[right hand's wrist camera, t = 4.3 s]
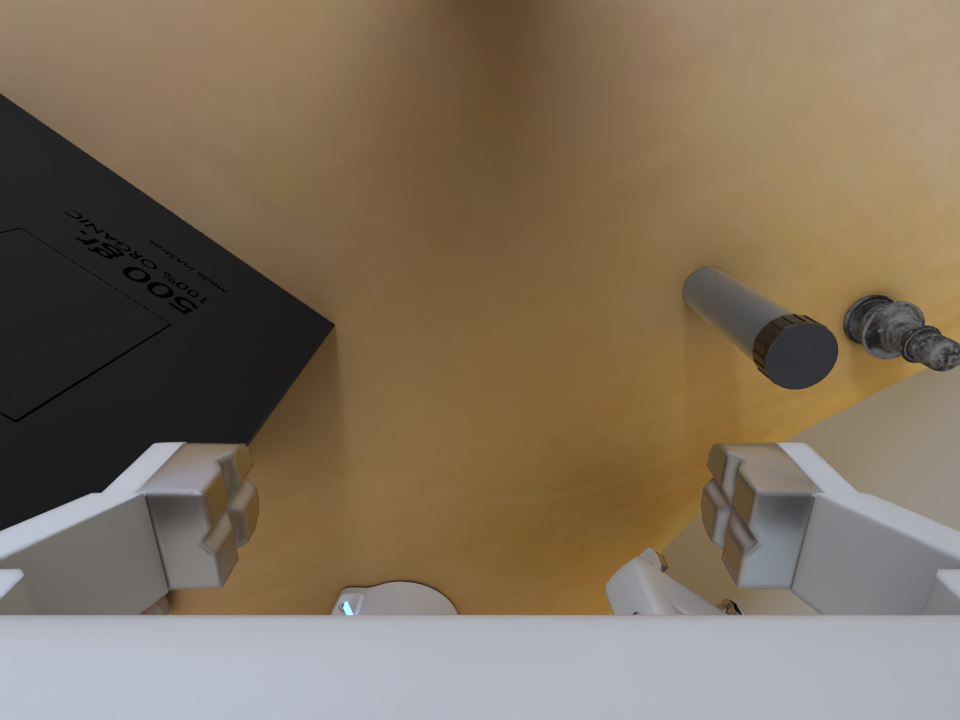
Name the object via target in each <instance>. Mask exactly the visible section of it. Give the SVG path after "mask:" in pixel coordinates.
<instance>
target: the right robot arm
mask: <svg viewBox="0 0 960 720" xmlns="http://www.w3.org/2000/svg"><path fill="white" fill-rule="evenodd" d="M252 467H253V463H252V458H251V453H250V449H249V448H248V447H247V446H246V445H245V444H239V443H186V442H164V443H154V444H153V445H152V446H151V447H150V448H148V449H147V450H146V451H145V452H144V453H143V454H142V455H141V456H140V457H139V458H138V459H137V460H136V461H135V462H134V463H133V464H132V465H130V466H129V467H128V468H127V469H126V470H125V471H124V472H123V473H122V474H121V475H120V476H119V477H118V478H117V479H116V480H115V481H114V482H112V483H111V484H110V485H109V486H108V487H107V488H106V489H105V490H104V491H103V492H102V493H91V494H88V495H86V496H84V497H81V498H79V499H76V500H74V501H72V502H69V503H67V504H64V505H62V506H60V507H57V508H55V509H52V510H50V511H48V512H45V513H43V514H40V515H38V516H36V517H33V518H31V519H28V520H26V521H24V522H21V523H19V524H16V525H14V526H12V527H9V528H7V529H4V530H2V531H0V720H960V531H958V530H955V529H953V528H951V527H948V526H946V525H943V524H941V523H939V522H936V521H934V520H931V519H929V518H927V517H924V516H922V515H920V514H917V513H915V512H912V511H910V510H907V509H905V508H903V507H900V506H898V505H895V504H893V503H891V502H888V501H886V500H884V499H881V498H879V497H876V496H874V495H872V494H869V493H858V492H857V491H856V490H855V489H854V488H853V487H852V486H851V485H850V484H849V483H848V482H846V481H845V480H844V479H843V478H842V477H841V476H840V475H839V474H838V473H837V472H836V471H835V470H834V469H833V468H832V467H831V466H830V465H829V464H828V463H826V462H825V461H824V460H823V459H822V458H821V457H820V456H819V455H818V454H817V453H816V452H815V451H814V450H813V449H812V448H811V447H810V446H808V445H807V444H805V443H802V442H784V443H737V444H716V445H713V446H712V448H711V450H710V453H709V457H708V462H707V467H708V469H709V470H710V472H711V473H712V475H713V476H714V477H713V478H712V479H711V480H710V481H709V482H708V483H707V484H706V485H705V486H704V487H703V493H702V501H701V510H702V520H703V523H704V526H705V530H706V532H707V534H708V536H709V538H710V540H711V541H712V542H713V543H715V544H717V545H718V546H720V547H721V548H723V554H722V561H723V563H724V564H725V566H726V568H727V570H728V571H729V573H730V575H731V577H732V578H733V580H734V582H735V584H736V585H737V587H738V588H754V589H791V592H792V593H793V594H795V595H796V596H797V597H799V598H800V599H801V600H803V601H804V602H805V603H807V604H808V605H809V606H811V607H812V608H813V609H814V610H816V611H817V612H818V613H820V614H821V615H139V614H140V613H142V612H143V611H144V610H146V609H147V608H148V607H150V606H151V605H152V604H154V603H155V602H156V601H158V600H159V599H160V598H162V597H163V596H164V595H166V594H167V593H168V592H169V589H205V588H222V587H223V585H224V584H225V582H226V580H227V578H228V577H229V575H230V573H231V572H232V570H233V568H234V566H235V565H236V563H237V561H238V554H237V548H239V547H240V546H242V545H243V544H245V543H247V542H248V541H249V540H250V538H251V536H252V534H253V532H254V530H255V527H256V522H257V518H258V514H259V499H258V492H257V487H256V486H255V485H254V484H253V483H252V482H251V481H250V480H249V479H248V478H247V477H246V476H247V475H248V473H249V472H250V470H251V469H252Z"/></svg>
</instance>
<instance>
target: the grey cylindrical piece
mask: <svg viewBox="0 0 960 720" xmlns="http://www.w3.org/2000/svg"><path fill="white" fill-rule="evenodd" d="M683 297H684V301H685V303H686V304H687V306H688V307H689V308H691V309H692V310H693V311H694V312H695V313H697V314H698V315H699V316H700V317H701V318H702V319H704V320H705V321H706V322H707V323H708V324H710V325H711V326H712V327H713V328H714V329H715V330H717V331H718V332H719V333H720V334H721V335H723V336H724V337H725V338H726V339H727V340H729V341H730V342H731V343H732V344H733V345H734V346H736V347H737V348H738V349H739V350H740V351H742V352H743V353H744V354H745V355H746V356H747V357H749V358H750V359H751V360H752V361H753V351H752V349H753V344H754V341H755V339H756V337H757V335H758V333H759V332H760V331H761V329H762V328H763V327H764V326H765V325H766V324H768V323H769V322H770V321H772V320H774V319H776V318H778V317H780V316H782V315H783V316H784V315H789V314H793V313H794V312H792V311H791V310H789V309H787V308H785V307H784V306H782V305H780V304H779V303H777V302H775V301H773V300H772V299H770V298H768V297H766V296H765V295H763V294H761V293H760V292H758V291H756V290H754V289H753V288H751V287H749V286H747V285H746V284H744V283H742V282H741V281H739V280H737V279H735V278H734V277H732V276H730V275H729V274H727V273H725V272H723V271H722V270H720V269H718V268H714V267H705V268H701V269H699V270H697V271H695V272H694V273H693V274H692V275H690V277H689V278H688V279H687V281H686V283H685V285H684V288H683ZM795 314H796V313H795ZM797 315H798V314H797ZM753 362H754V361H753Z"/></svg>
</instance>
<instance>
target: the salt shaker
mask: <svg viewBox="0 0 960 720" xmlns="http://www.w3.org/2000/svg"><path fill="white" fill-rule="evenodd" d="M844 330H845V332H846V335H847V336H848V337H849V339H850V340H852V341H854V342H855V343H858V344H863V346H864V349H865V350H866V351H867V352H868V353H869V354H870V355H872V356H874V357H876V358H880V359H892V358H896V357H899V356H901V355H902V357H903V358H904V359H905V360H907V361H908V362H911V363H921V364H923V365H925V366H927V367H929V368H931V369H933V370H936V371H947V370H951V369H953V368H955V367H956V366H958V365H960V344H959V343H957V342H956V341H954V340H951V339H949V338H947V337H945V336H942V335H941V332H940V331H939V330H938V329H937V328H935V327H933V326H925V319H924V316H923V313H922V312H921V310H920V309H919V308H918V307H917V306H915V305H914V304H912V303H908V302H893V301H892V300H891V299H889V298H888V297H886V296H882V295H871V296H868V297H865V298H863V299H861V300H859V301H858V302H857V303H855V304H854V305H853V306H852V307H851V309H850V310H849V311H848V313H847V315H846V317H845V322H844Z"/></svg>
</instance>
